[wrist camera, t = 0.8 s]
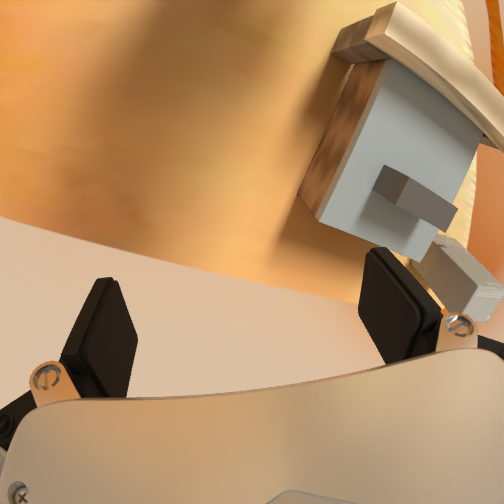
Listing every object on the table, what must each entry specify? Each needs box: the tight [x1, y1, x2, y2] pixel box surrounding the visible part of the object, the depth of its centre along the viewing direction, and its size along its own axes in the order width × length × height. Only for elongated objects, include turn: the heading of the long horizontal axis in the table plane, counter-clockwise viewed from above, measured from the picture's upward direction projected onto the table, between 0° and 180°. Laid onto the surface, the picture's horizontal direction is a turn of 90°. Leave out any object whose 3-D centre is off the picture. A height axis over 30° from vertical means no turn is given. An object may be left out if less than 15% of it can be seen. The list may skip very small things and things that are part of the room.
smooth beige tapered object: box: [364, 1, 504, 153], centre depth 23 cm, size 4×24×4 cm, turn 68°
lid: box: [315, 58, 483, 262], centre depth 28 cm, size 26×16×8 cm, turn 158°
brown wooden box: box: [297, 15, 500, 216], centre depth 33 cm, size 26×23×10 cm
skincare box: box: [411, 234, 504, 323], centre depth 41 cm, size 8×7×16 cm
